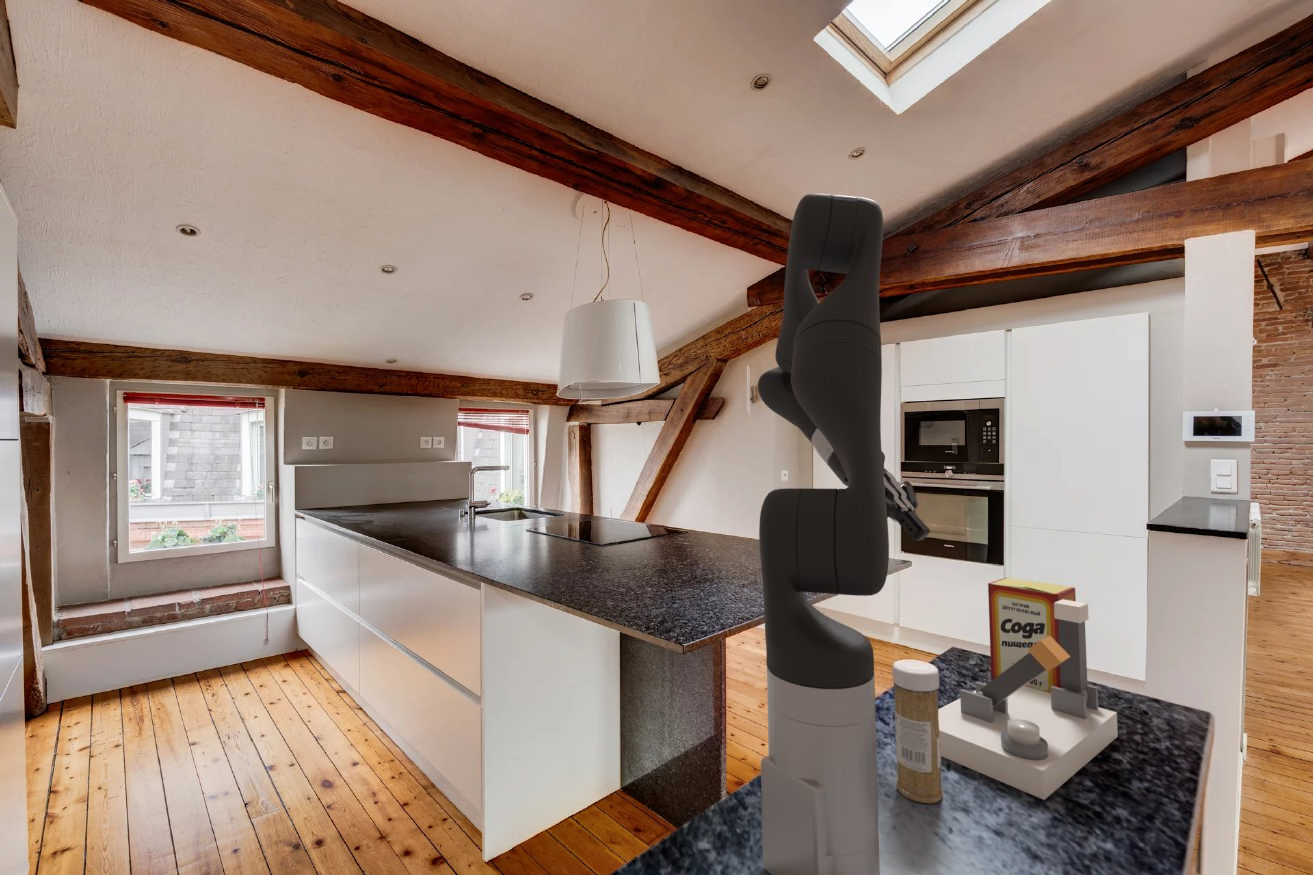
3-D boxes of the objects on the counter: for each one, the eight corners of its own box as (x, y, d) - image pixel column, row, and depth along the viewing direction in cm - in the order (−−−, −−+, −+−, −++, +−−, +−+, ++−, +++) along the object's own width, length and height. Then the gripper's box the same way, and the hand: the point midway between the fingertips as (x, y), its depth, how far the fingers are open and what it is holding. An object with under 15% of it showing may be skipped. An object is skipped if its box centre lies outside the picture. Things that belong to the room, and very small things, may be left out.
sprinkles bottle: (951, 795, 61) (947, 666, 61) (926, 810, 58) (922, 676, 58) (911, 775, 64) (908, 654, 65) (886, 789, 62) (883, 663, 62)
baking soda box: (991, 684, 89) (987, 580, 89) (1009, 674, 93) (1006, 575, 93) (1062, 705, 81) (1058, 592, 82) (1079, 693, 85) (1075, 585, 86)
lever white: (1083, 712, 72) (1079, 607, 72) (1057, 705, 74) (1054, 602, 74) (1091, 706, 73) (1087, 603, 74) (1066, 699, 75) (1062, 599, 76)
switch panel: (1044, 799, 59) (1042, 743, 60) (916, 745, 71) (915, 698, 71) (1117, 736, 72) (1115, 689, 72) (999, 699, 84) (997, 658, 84)
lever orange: (981, 718, 72) (1060, 661, 65) (964, 697, 74) (1040, 640, 67) (991, 712, 74) (1070, 656, 66) (975, 691, 75) (1050, 635, 68)
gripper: (833, 431, 84) (914, 522, 74) (886, 433, 92) (966, 516, 81) (805, 467, 88) (878, 558, 78) (858, 466, 96) (930, 549, 85)
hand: (923, 536), depth 79 cm, fingers closed
